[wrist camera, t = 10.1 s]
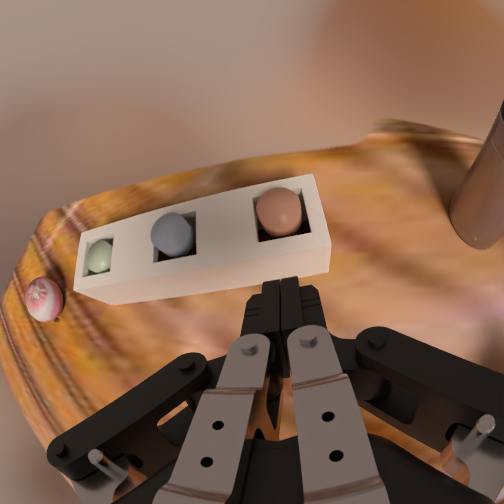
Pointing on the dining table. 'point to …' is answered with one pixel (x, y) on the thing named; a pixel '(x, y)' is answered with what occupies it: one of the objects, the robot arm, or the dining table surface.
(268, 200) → the terracotta button
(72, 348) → the dining table surface
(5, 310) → the dining table surface
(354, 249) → the dining table surface
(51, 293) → the onion
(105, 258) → the sage button
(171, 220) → the slate button
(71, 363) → the dining table surface
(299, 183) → the block
